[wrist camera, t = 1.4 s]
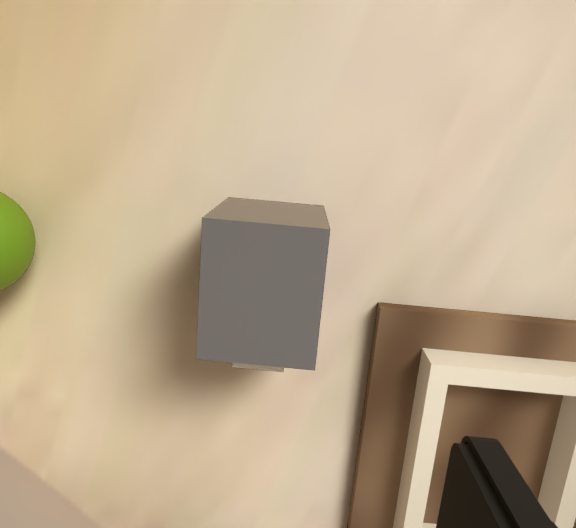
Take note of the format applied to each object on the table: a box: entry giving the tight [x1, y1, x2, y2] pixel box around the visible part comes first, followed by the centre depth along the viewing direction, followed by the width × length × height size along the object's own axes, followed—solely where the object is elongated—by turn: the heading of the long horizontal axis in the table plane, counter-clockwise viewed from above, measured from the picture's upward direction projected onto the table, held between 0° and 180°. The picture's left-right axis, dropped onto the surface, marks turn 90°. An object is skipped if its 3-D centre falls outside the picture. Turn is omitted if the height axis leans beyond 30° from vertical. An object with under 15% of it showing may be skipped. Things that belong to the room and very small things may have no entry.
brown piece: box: [347, 303, 576, 528], centre depth 28 cm, size 14×16×3 cm
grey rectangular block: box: [196, 197, 330, 372], centre depth 24 cm, size 5×7×7 cm
